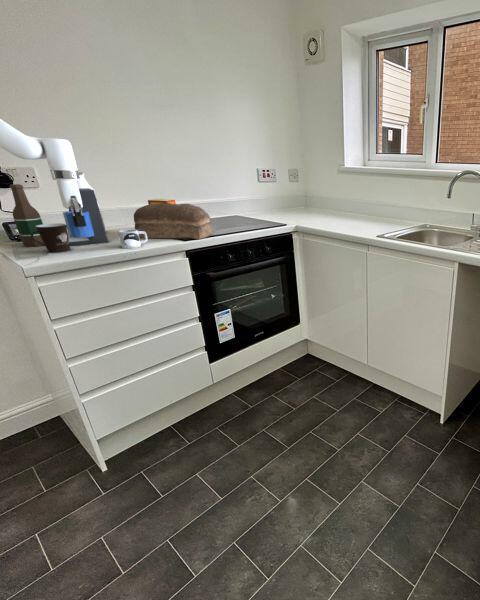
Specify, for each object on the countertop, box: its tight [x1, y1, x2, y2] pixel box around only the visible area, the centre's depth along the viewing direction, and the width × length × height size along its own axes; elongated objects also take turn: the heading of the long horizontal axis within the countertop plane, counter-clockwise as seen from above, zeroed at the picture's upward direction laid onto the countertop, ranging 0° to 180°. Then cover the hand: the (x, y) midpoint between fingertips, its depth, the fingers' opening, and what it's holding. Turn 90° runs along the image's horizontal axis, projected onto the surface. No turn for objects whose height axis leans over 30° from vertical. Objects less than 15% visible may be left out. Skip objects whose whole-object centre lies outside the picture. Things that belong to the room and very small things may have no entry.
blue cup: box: [62, 210, 94, 238], centre depth 132 cm, size 7×7×9 cm
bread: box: [133, 203, 214, 240], centre depth 167 cm, size 15×32×16 cm, turn 93°
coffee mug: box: [31, 222, 71, 254], centre depth 135 cm, size 12×9×10 cm
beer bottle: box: [9, 183, 46, 248], centre depth 141 cm, size 8×8×24 cm
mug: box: [117, 228, 149, 249], centre depth 148 cm, size 10×7×7 cm
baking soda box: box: [147, 198, 177, 205], centre depth 179 cm, size 10×6×16 cm
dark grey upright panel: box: [68, 188, 109, 247], centre depth 148 cm, size 16×12×22 cm
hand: (79, 224), depth 132 cm, fingers closed on blue cup, 7 cm apart
